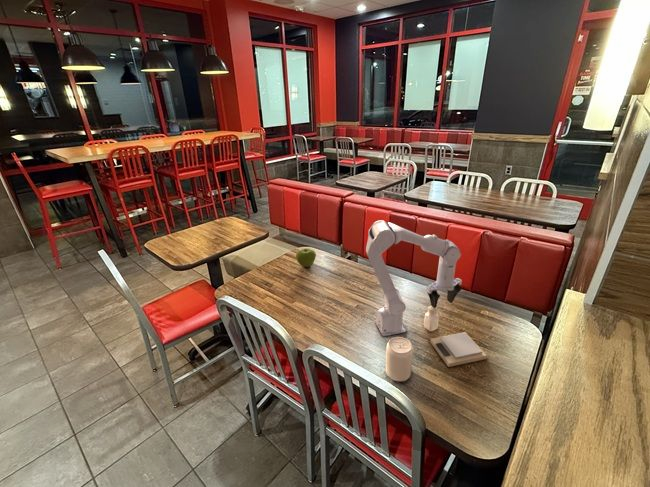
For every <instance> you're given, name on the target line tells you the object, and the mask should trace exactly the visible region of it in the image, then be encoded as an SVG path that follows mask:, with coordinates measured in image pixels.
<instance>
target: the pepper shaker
mask: <svg viewBox="0 0 650 487" xmlns="http://www.w3.org/2000/svg"><path fill="white" fill-rule="evenodd" d="M439 321H440V315H438V307H437V306H436V308H433V307H432V306H431V305H428V309H427V312H425V314H424V319H423V328H424V329H426V330H427V331H429V332H433V331H435V330H438V327H439Z"/></svg>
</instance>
